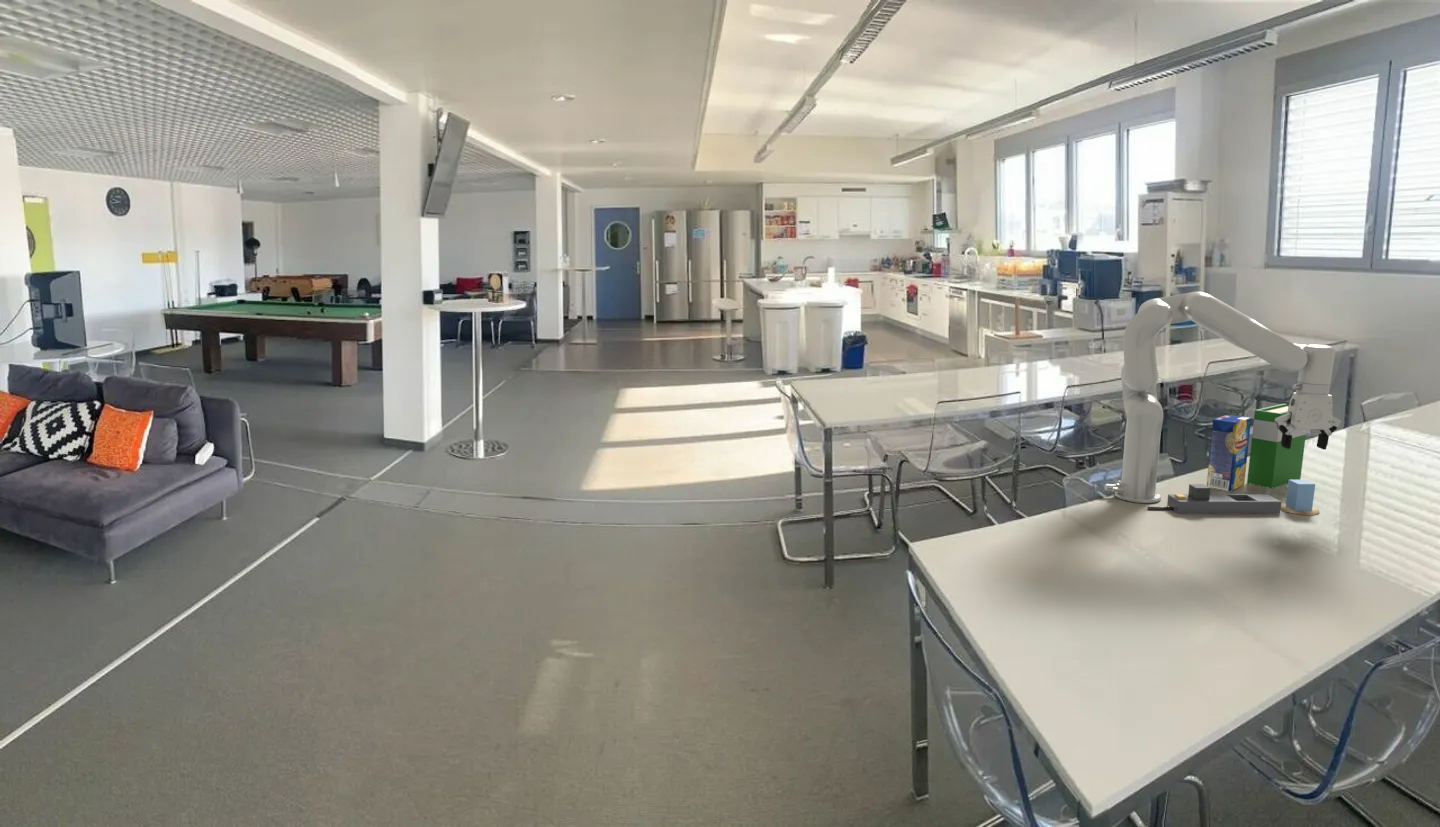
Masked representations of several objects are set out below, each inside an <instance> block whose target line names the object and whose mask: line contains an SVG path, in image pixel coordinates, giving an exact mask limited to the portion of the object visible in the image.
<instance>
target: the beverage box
mask: <svg viewBox="0 0 1440 827" xmlns="http://www.w3.org/2000/svg"><path fill="white" fill-rule="evenodd" d="M1251 425H1252V417H1249V416H1242V415H1241V416H1240V415H1234V414H1233V415H1232V414H1225V415H1222V416H1220V417H1216V418H1214V419H1212V427H1211V438H1210V448H1209V457H1208V467H1207V478H1206V486H1208V487H1212V488H1211V489H1214V488H1218V489H1217V490H1219V489H1223V490H1222V491H1224V490H1227V491H1226V492H1229V491H1230V492H1232V491H1234V489H1235V490H1237V489H1239V488H1241V487H1243V486H1244V485H1245V481H1246V471H1247V469H1246V468H1247V462H1248V461H1247V460H1248V454H1249V442H1250V433H1251ZM1242 485H1243V486H1242ZM1240 486H1241V487H1240ZM1238 487H1239V488H1238ZM1236 488H1237V489H1236ZM1231 490H1232V491H1231Z"/></svg>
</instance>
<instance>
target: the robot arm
mask: <svg viewBox="0 0 1440 827" xmlns="http://www.w3.org/2000/svg"><path fill="white" fill-rule="evenodd" d="M1189 321H1192V322H1193V323H1195V324H1196V325H1199V326H1200V327H1202V328H1203V329H1205V330H1206V331H1209V332H1211V333H1212V334H1214V335H1216V336H1218V337H1219V338H1221V339H1223V340H1224V341H1226V342H1228V343H1230V345H1233V346H1235V347H1237V348H1240V349H1243V350H1245V351H1247V352H1248V353H1250V354H1253V355H1254V356H1256V357H1258V358H1259V359H1262V360H1264V361H1265V362H1267V363H1269V364H1270V365H1271V366H1273V367H1274V368H1276V369H1278V370H1279V371H1282V372H1284V373H1288V374H1289V373H1291V374H1292V373H1293V374H1294V373H1297V372H1298V376H1297V381H1296V384H1293V385H1292V390H1295V392H1293V394H1292V396H1291V398H1290V401H1289V403H1288V411H1287V414H1284V415H1282V416H1280V417H1277V418H1275V422H1276V425H1277V428H1278V429H1279V430H1280V431H1281V433H1282V440H1281V444H1282V445H1281V446H1282V447H1284V448H1287V449H1290V448H1291V441H1292V435H1290V434H1291V433H1292V432H1293V431H1294V430H1295V429H1300V430H1306V431H1310V430H1311V431H1319V432H1320V433H1318V436H1317V442H1316V447H1317V448H1319V449H1321V450H1327V446H1328V444H1329V437H1331V436H1332V434H1333V433H1334V432H1335V431H1336V430H1337V428H1338V427H1339V426H1340V424H1341V423H1342V420H1341V419H1339V418H1337V417H1335V416H1334V415H1333V412H1334V407H1333V406H1334V405H1333V395H1332V394H1330V388H1331V384H1332V383H1331V381H1332V377H1333V369H1334V364H1335V357H1336V349H1335V347H1333V346H1331V345H1325V344H1308V345H1307V344H1300V343H1299V344H1298V343H1294V342H1292V341H1290V340H1289V339H1286V338H1284V337H1283V336H1281V335H1279V334H1277V333H1276V332H1274V331H1272V330H1271V329H1269V328H1267V327H1266V326H1264V325H1263V324H1262V323H1260V322H1259V321H1256V320H1255V319H1253V318H1252V317H1250V316H1248V315H1247V314H1245V313H1243V312H1241V311H1240V310H1237V309H1236V308H1234V307H1232V306H1230V305H1229V304H1227V303H1225V302H1224V301H1222V300H1220V299H1218V298H1216V297H1214V296H1213V295H1211V294H1209V293H1206V292H1203V291H1191V292H1187V293H1180V294H1174V295H1169V296H1163V297H1157V298H1151V299H1148V300H1146V301H1144V302H1143V303H1141V305H1140V306H1139V308H1138V310H1137V313H1136V314H1134V315H1133V317H1132V318H1131V319H1130V320H1129V322H1128V323H1127V325H1126V327H1125V329H1124V331H1123V332H1124V333H1123V342H1122V343H1123V363H1124V364H1123V365H1122V367H1121V371H1120V372H1121V374H1120V377H1121V378H1120V380H1121V389H1122V391H1121V392H1122V402H1123V407H1124V408H1123V409H1124V411H1125V414H1126V423H1125V424H1126V425H1125V434H1124V443H1123V445H1124V446H1123V456H1122V457H1123V458H1122V469H1121V480H1117V482H1116V483H1114V484H1112V483H1104V490H1105V491H1111V492H1113V493H1114V496H1115V497H1116V498H1118V499H1120V500H1123V501H1126V500H1127V501H1126V502H1132V503H1137V504H1138V503H1139V504H1153V503H1157V502H1160V501H1161V500H1162V496H1161V494H1160V493H1158V492H1156V490H1157V480H1158V469H1159V457H1160V454H1159V453H1160V444H1161V434H1162V433H1161V432H1162V429H1163V421H1164V409H1163V407H1162V404H1161V403H1160V402H1159V400H1158V394H1157V393H1158V392H1157V391H1158V390H1157V384H1158V381H1159V371H1158V365H1157V364H1158V363H1157V356H1156V354H1157V353H1156V351H1157V350H1156V341H1157V340H1156V339H1157V336H1158V335H1159V333H1160V332H1161V331H1162V330H1164V329H1165V328H1167V326H1169V325H1171V324H1172V325H1173V324H1179V323H1184V322H1185V323H1186V322H1189ZM1285 420H1286V426H1284V425H1283V421H1285Z"/></svg>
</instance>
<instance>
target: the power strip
mask: <svg viewBox="0 0 1440 827" xmlns="http://www.w3.org/2000/svg"><path fill="white" fill-rule="evenodd" d="M1211 489H1212V488H1210V487H1208V486H1207V484H1204V483H1189V485H1188V494H1186V493H1184V494H1182V493H1174V494H1173V493H1171V494H1170V493H1169V494H1168V493H1167V504H1166V506H1147V507H1146V509H1147V510H1148V511H1163V510H1162V509H1165V510H1164V511H1174V512H1175V511H1176V512H1175V513H1177V514H1178V513H1253V514H1254V515H1255V514H1256V513H1263V515H1265V514H1266V515H1267V514H1268V513H1272V514H1273V513H1274V515H1275V514H1276V513H1278V515H1279V514H1281V511H1282V510H1281V504H1282V501H1281V500H1280V499H1278V498H1276V497H1273V496H1272V495H1270V494H1267V493H1264V494H1263V493H1262V494H1260V493H1259V494H1257V493H1256V494H1255V493H1253V494H1251V493H1250V494H1249V493H1246V494H1245V493H1244V494H1242V493H1234V494H1233V493H1232V494H1231V493H1230V494H1228V493H1224V494H1222V493H1221V494H1220V493H1217V494H1216V493H1214V494H1213V493H1212V494H1211ZM1168 506H1169V507H1168ZM1159 509H1160V510H1159ZM1166 509H1168V510H1166ZM1253 514H1252V515H1253ZM1256 515H1257V514H1256Z"/></svg>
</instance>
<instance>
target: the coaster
mask: <svg viewBox="0 0 1440 827" xmlns="http://www.w3.org/2000/svg"><path fill="white" fill-rule="evenodd" d="M1285 505H1286V502H1281V510H1280V511H1282V512H1284V511H1285V512H1284V513H1288V512H1289V514H1292V513H1293V514H1292V515H1299V516H1316V515H1319V514H1320V512H1321V511H1320V509H1318V508H1316V507H1314V506H1312V511H1294V510H1292V509H1290V508H1288V507H1287V506H1285Z"/></svg>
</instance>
